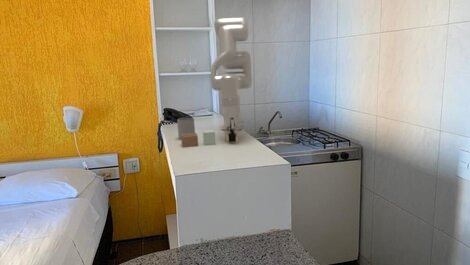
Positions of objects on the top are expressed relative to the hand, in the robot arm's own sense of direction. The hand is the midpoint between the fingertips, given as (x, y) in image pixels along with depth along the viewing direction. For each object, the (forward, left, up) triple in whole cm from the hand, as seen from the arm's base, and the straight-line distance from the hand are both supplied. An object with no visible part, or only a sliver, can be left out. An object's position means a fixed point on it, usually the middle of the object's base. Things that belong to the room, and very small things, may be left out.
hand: (231, 139), depth 177 cm
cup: (+3, -26, -1) cm, 26 cm away
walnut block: (+14, -14, -1) cm, 20 cm away
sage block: (+8, -7, -1) cm, 11 cm away
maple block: (0, 0, -1) cm, 1 cm away
